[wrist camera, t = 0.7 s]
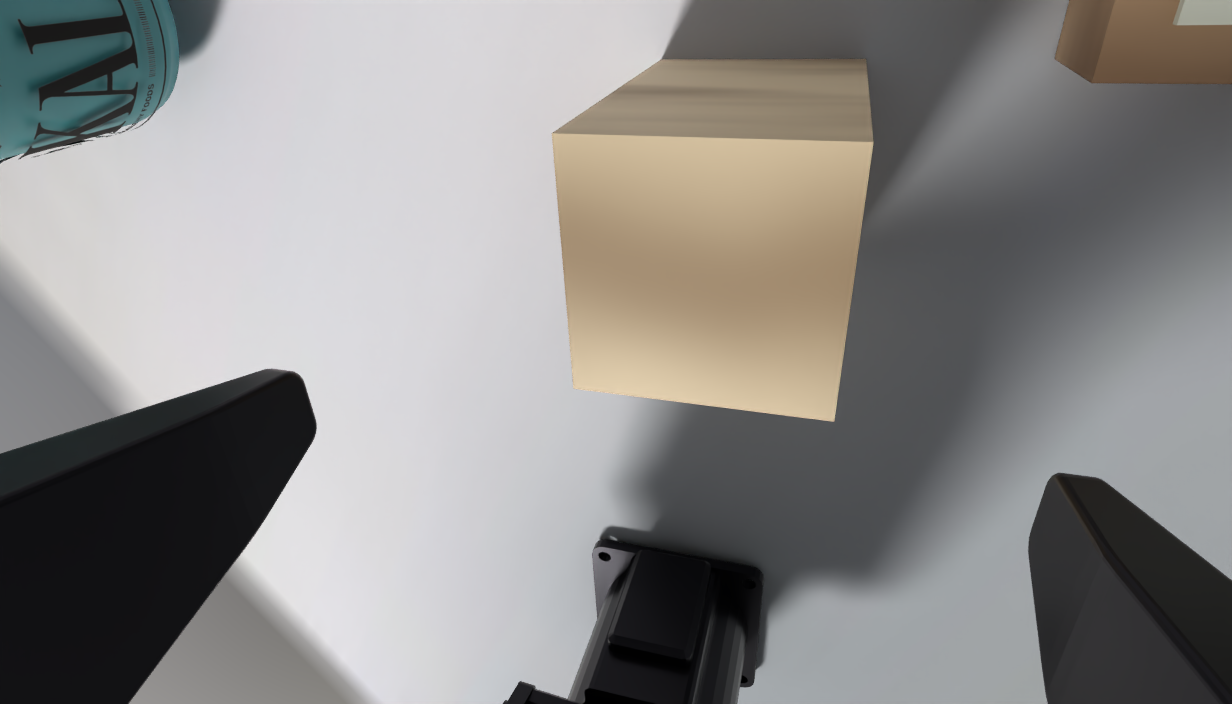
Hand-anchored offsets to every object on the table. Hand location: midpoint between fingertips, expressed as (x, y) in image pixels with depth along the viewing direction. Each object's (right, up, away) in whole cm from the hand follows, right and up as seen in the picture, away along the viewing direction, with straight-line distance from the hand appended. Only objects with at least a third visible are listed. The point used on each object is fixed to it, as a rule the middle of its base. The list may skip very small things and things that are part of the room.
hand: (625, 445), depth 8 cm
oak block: (+4, +6, +10) cm, 13 cm away
